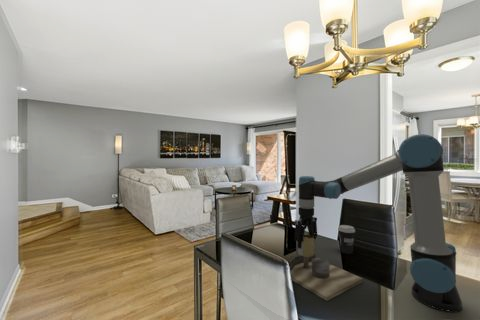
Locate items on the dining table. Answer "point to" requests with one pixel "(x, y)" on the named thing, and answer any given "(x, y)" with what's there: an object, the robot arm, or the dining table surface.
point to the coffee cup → (346, 238)
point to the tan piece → (308, 245)
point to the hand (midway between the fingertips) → (306, 252)
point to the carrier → (321, 276)
